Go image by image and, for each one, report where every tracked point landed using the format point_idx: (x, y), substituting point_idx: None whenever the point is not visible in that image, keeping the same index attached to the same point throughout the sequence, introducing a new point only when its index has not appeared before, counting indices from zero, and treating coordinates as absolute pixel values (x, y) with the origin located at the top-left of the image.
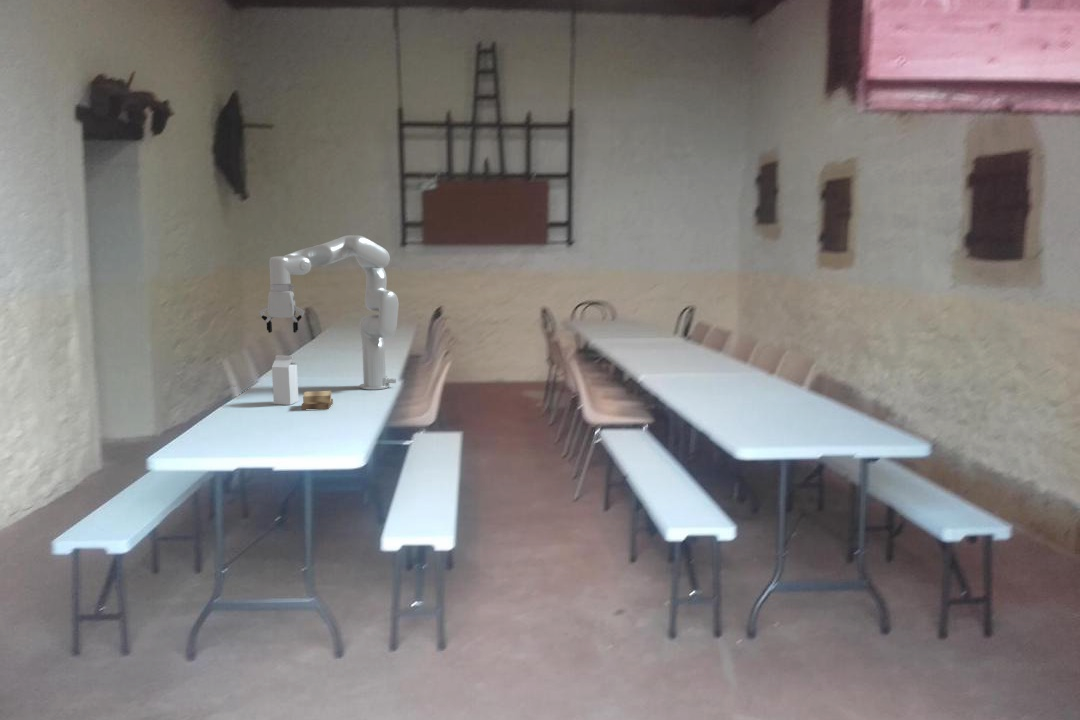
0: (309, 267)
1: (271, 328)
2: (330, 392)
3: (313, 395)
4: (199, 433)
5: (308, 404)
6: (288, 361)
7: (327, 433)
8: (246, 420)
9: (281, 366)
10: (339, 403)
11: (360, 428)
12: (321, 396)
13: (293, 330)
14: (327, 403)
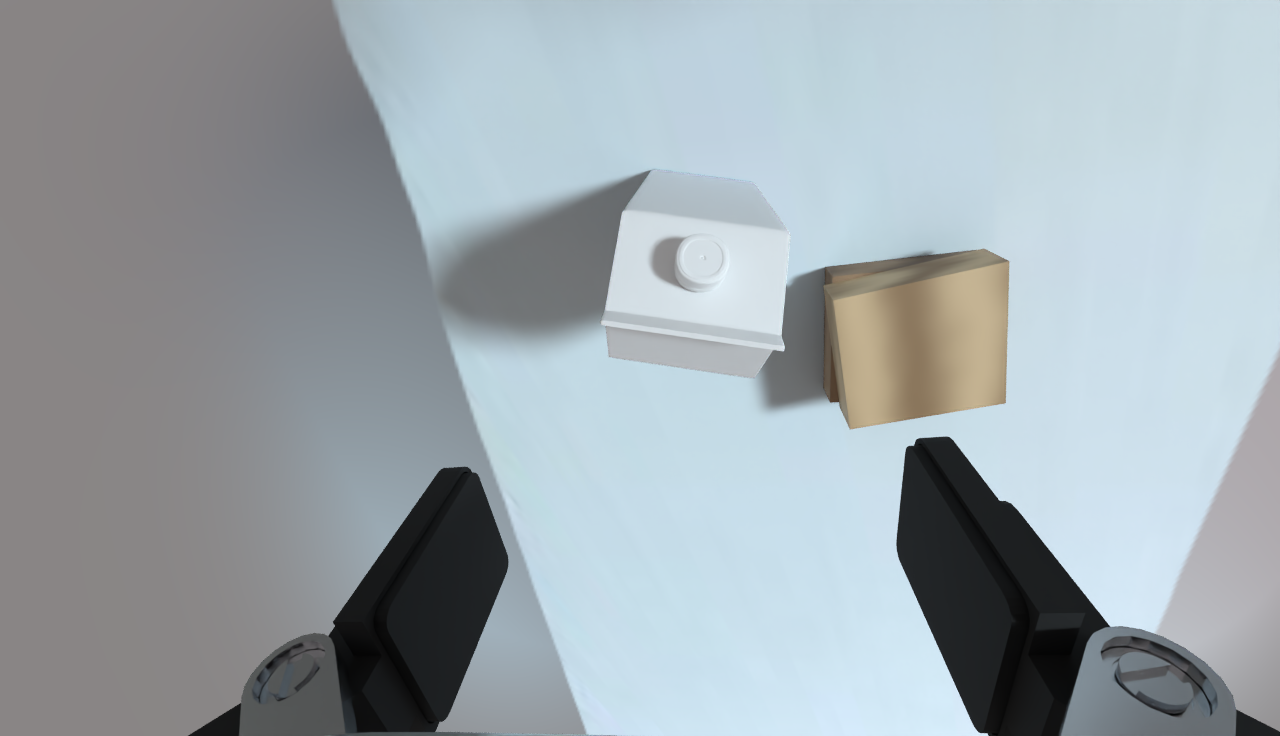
0: None
1: (461, 537)
2: (1006, 319)
3: (905, 403)
4: (584, 661)
5: None
6: (744, 349)
7: None
8: (650, 542)
9: (690, 365)
10: (1016, 219)
11: None
12: (952, 409)
13: (909, 577)
14: None
